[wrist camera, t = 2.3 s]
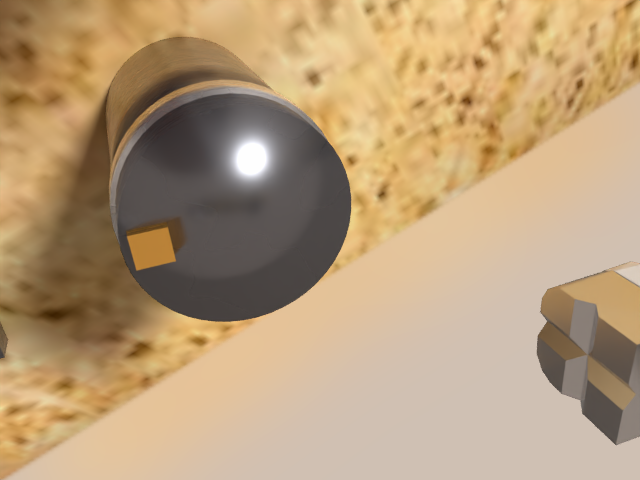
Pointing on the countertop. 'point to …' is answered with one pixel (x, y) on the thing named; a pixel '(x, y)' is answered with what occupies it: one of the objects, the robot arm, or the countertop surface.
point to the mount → (2, 342)
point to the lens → (219, 184)
